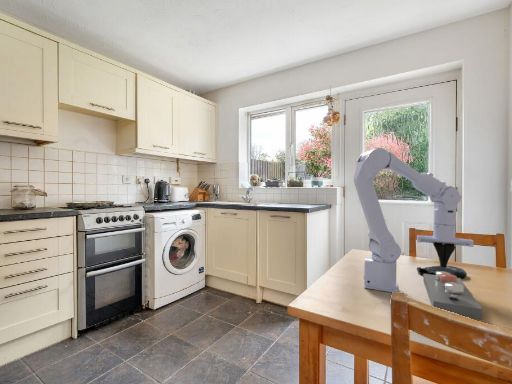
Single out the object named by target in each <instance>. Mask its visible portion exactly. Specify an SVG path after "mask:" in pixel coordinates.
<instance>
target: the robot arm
mask: <svg viewBox="0 0 512 384" xmlns="http://www.w3.org/2000/svg"><path fill="white" fill-rule="evenodd" d="M355 162H356V164H355V165H356V167H355V170H354V171H355V172H354V175H353V183H354V187H355V190H356V192H357V196H358V199H359V202H360V206H361V208H362V210H363V214H364V218H365V221H366V223H367V227H368V230H369V233H368V235H367V236H368V240H369V242H368V249H369V251H370V252H371V257H365V258H364V270H363V271H364V272H363V273H364V274H363V281H364V284H363V288H365V289H371V290H376V291H383V292H387V293H388V292H389V293H394V292H398V293H399V289H398V282H397V262H398V261H397V260H398V259H400V257H401V254H402V249H401V247H400V245H399V243H397V242H396V240H395V238H394V236H393V235H392V233H391V232H390V230H389V228H388V227H387V223H386V220H385V216H384V214H383V210H382V207H381V204H380V201H379V198H378V196H377V191H376V188H375V185H374V182H373V181H374V180H375V178H376V177H377V175H378V174H379V172H381V171H382V170H390V171H392V172H394V173H396V174H397V175H399V176H401V177H403V178H405V179H407V180H409V181H410V182H411V185H412V187H413V188H414V189H416V190H417V191H419V192H421V193H423V194H424V195H425V196H427V197H428V198H429V199H430V201H431V202H432V203H433V223H432V224H433V226H432V230H433V231H432V233H433V235H418V234H417V235H416V242H417V243H428V244H432V245H433V246H434V249H435V251H436V254H437V257H438V260H439V266H441V267H444V268H446V267H447V266H448V263H449V260H450V258H451V256H452V255H453V253H454V251H455V250H456V246H463V247H469V248H473V247H474V240H473V239H469V238H468V239H467V238H460V237H456V223H457V222H456V220H457V219H456V218H457V217H456V215H457V214H456V213H457V212H456V211H457V210H458V204H459V203H460V201H461V199H462V195H461V194H460V191H459V190H458V188H456V187H454V186H450V185H449V186H447V183H446V182H445V181H440V180H439V179H437V178H436V177H434V173H432V172H425V171H424V172H419V171H417V170H416V169H414V168H413V167H412V166H410V165H409V164H407V163H406V162H404V161H403V160H402V159H400V158H398V157H397V156H396V155H395V153H393V152H390V151H388V150H387V149H385V148H383V147H377V148H373V149H372V150H368V151H364V152H362V153H361V154H360V155H359V157H358V158H357V160H356V161H355Z"/></svg>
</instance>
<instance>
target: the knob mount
mask: <svg viewBox="0 0 512 384" xmlns="http://www.w3.org/2000/svg"><path fill="white" fill-rule="evenodd" d="M422 276H423V278H422V279H423V280H422V281H423V284H424V287H425V291H426V294H427V297H428V298H429V302H430V305H431V307H432V306H434V307H437V308H440V309H444V310H447V311H450V312H454V313H457V314H460V315H459V316H461V315H463V316H462V317H466V316H467V317H466V318H468V317H469V318H472V319H473V318H474V319H478V320H483V308H482V307H481V305H480V304H479V302H478V301H477V300H476V299H475V297H474V296H473V294H472V293H471V292H470V290H469V288H468V287H467V286H466V285H465V283H464V282H463V281H462V278H457V283H458V284H461V285H463V286H464V293H463V295H457V301H455V300H451V294H449V293H447V292H445V284H444V283H442V282H440V280H437V279H436V274H431V273H428V274H423V275H422Z"/></svg>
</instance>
